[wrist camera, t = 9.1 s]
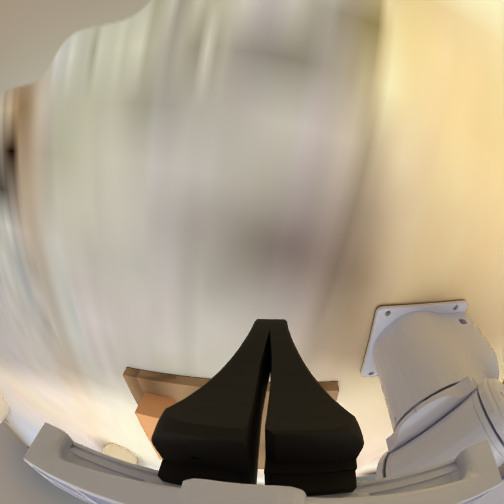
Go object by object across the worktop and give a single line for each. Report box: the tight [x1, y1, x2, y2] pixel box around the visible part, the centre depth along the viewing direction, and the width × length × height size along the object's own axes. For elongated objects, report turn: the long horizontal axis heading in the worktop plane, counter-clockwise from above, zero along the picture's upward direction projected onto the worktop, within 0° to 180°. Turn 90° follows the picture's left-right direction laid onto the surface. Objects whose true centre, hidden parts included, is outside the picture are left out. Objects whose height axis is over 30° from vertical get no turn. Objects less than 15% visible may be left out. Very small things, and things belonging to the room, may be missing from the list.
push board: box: [123, 367, 339, 469], centre depth 29 cm, size 22×20×1 cm
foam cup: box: [101, 443, 137, 464], centre depth 33 cm, size 10×9×13 cm
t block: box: [135, 392, 175, 460], centre depth 27 cm, size 10×12×3 cm
